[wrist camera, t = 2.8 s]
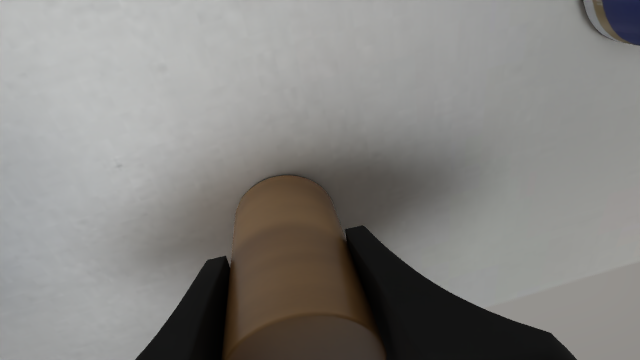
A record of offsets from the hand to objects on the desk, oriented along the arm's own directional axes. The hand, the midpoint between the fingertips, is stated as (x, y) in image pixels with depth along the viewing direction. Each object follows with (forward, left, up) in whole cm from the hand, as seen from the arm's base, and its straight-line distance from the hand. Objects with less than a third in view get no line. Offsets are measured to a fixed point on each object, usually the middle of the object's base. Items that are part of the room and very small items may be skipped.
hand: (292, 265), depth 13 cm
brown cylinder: (0, 0, -3) cm, 3 cm away
